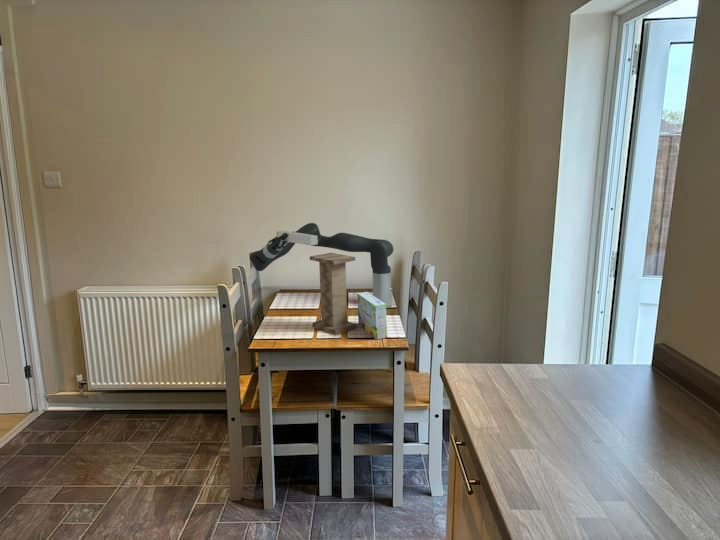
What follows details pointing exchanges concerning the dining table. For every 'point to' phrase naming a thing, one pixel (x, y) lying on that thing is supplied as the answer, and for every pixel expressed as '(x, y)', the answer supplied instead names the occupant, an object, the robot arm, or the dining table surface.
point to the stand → (333, 293)
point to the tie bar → (299, 238)
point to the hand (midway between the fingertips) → (290, 233)
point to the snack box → (372, 315)
